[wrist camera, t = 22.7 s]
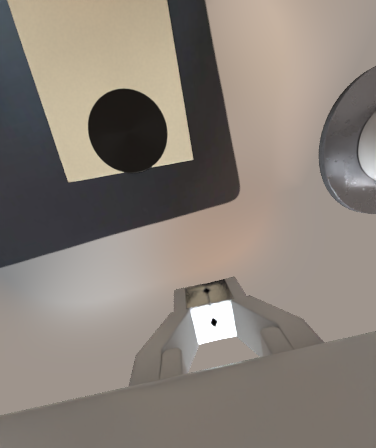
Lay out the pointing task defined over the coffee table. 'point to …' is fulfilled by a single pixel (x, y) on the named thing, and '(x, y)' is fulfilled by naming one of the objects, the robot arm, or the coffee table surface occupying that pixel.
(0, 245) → the coffee table surface
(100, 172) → the hob
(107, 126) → the black round disc
